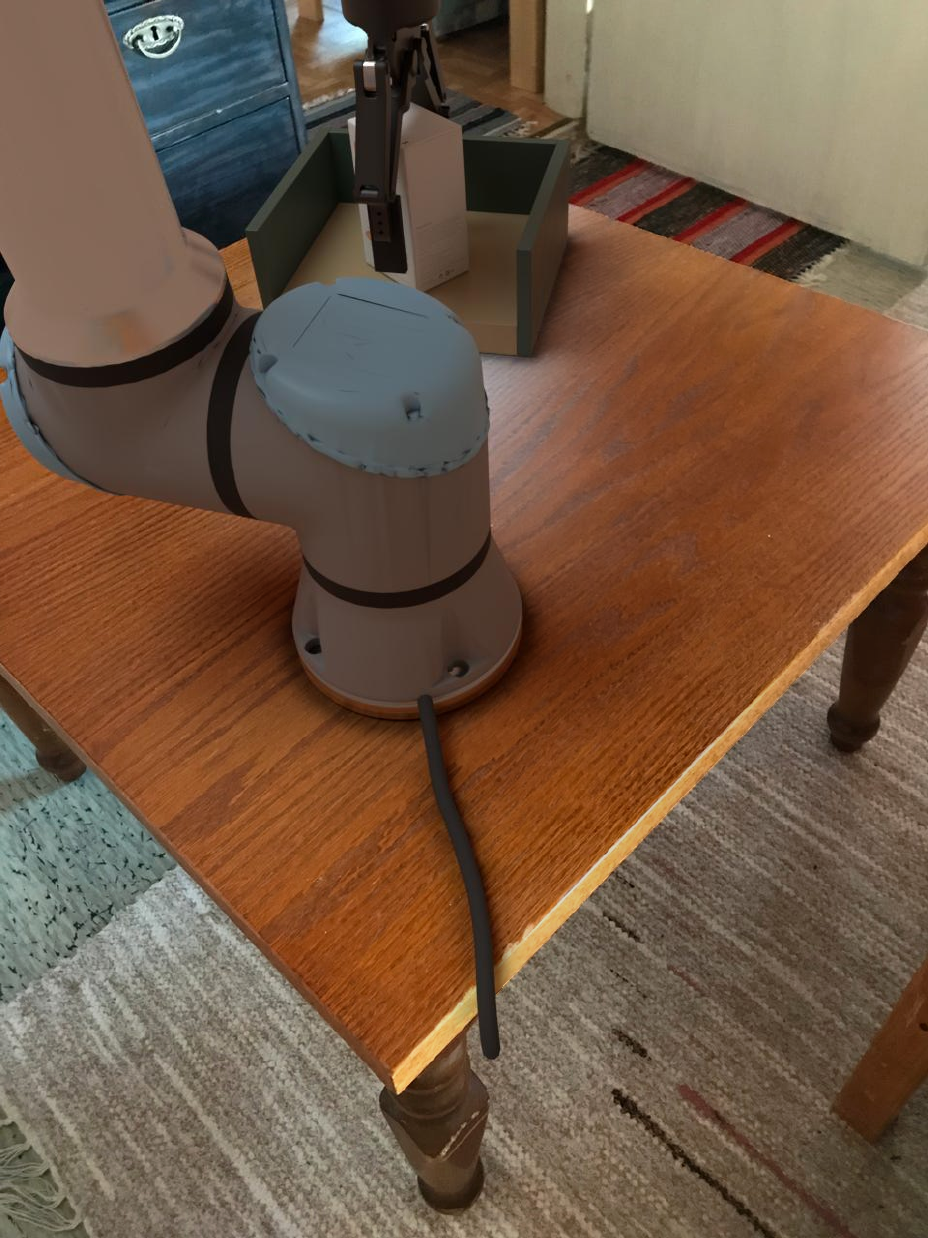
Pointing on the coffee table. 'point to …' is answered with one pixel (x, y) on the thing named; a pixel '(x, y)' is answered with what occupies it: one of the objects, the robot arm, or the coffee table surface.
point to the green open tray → (496, 223)
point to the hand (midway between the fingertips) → (412, 231)
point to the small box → (427, 200)
